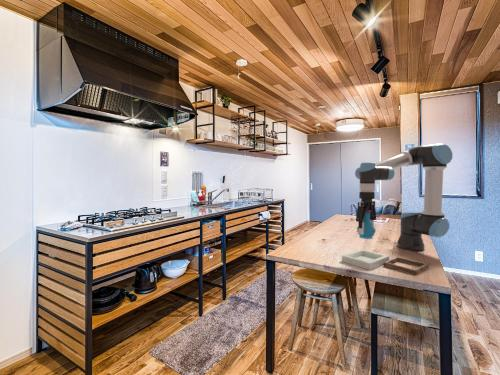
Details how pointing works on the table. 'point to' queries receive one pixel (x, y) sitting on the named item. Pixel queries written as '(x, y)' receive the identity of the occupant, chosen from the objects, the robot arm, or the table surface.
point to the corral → (390, 264)
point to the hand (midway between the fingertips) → (366, 232)
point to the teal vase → (367, 227)
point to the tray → (365, 259)
